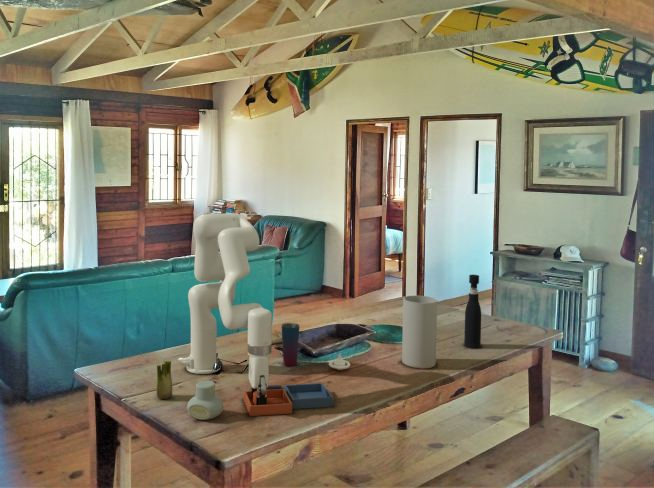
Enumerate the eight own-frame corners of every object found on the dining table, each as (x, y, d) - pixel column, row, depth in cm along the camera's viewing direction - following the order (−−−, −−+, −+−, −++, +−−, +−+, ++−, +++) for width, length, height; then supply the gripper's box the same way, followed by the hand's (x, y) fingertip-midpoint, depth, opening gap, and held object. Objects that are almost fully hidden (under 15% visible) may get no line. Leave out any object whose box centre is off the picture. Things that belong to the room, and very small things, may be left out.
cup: (297, 367, 225) (298, 328, 225) (279, 366, 227) (280, 327, 226) (300, 361, 232) (300, 323, 231) (282, 360, 233) (283, 322, 233)
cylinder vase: (395, 363, 231) (397, 299, 229) (411, 356, 240) (413, 293, 238) (426, 371, 222) (427, 305, 221) (441, 363, 231) (442, 299, 230)
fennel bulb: (157, 401, 193) (157, 365, 192) (153, 396, 198) (153, 360, 197) (174, 399, 195) (174, 362, 195) (170, 393, 200) (170, 358, 199)
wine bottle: (463, 347, 251) (465, 276, 250) (464, 343, 257) (466, 273, 256) (480, 349, 249) (482, 277, 248) (480, 344, 255) (482, 274, 253)
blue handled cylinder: (254, 392, 202) (254, 380, 201) (252, 387, 206) (252, 376, 205) (282, 390, 203) (282, 378, 203) (279, 386, 207) (279, 374, 207)
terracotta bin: (249, 416, 183) (250, 406, 183) (243, 400, 195) (243, 391, 195) (292, 413, 185) (292, 403, 185) (283, 397, 197) (283, 388, 197)
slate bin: (292, 409, 188) (292, 399, 188) (284, 393, 200) (284, 385, 200) (333, 406, 191) (333, 397, 191) (322, 391, 203) (322, 382, 203)
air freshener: (182, 418, 181) (183, 385, 180) (195, 408, 189) (195, 376, 188) (215, 424, 177) (216, 391, 176) (227, 413, 185) (227, 381, 184)
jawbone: (293, 337, 265) (293, 332, 265) (279, 351, 246) (279, 346, 246) (273, 333, 268) (274, 328, 268) (258, 347, 249) (259, 342, 249)
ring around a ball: (348, 365, 228) (327, 364, 229) (349, 350, 228) (327, 350, 228) (351, 373, 220) (329, 372, 221) (351, 358, 220) (329, 357, 220)
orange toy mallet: (254, 408, 187) (254, 396, 187) (252, 403, 191) (252, 391, 191) (283, 406, 189) (283, 394, 189) (281, 401, 193) (281, 389, 193)
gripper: (243, 341, 197) (243, 394, 198) (252, 358, 180) (251, 416, 180) (266, 340, 198) (265, 392, 199) (276, 357, 181) (276, 415, 182)
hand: (259, 403), depth 190 cm, fingers open, 7 cm apart
